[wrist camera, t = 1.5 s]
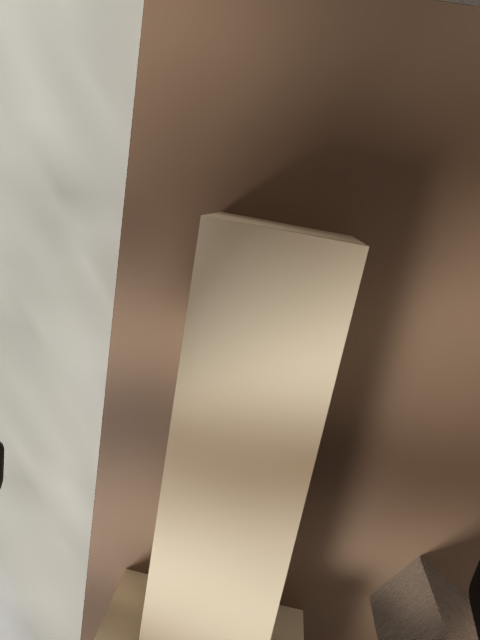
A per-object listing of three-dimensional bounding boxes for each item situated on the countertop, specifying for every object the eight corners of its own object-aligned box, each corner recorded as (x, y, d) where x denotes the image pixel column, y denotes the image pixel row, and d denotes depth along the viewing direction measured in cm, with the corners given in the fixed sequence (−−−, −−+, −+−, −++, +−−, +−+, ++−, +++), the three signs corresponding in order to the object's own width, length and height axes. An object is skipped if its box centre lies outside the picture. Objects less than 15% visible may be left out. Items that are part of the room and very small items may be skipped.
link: (268, 738, 15) (264, 838, 13) (108, 698, 16) (75, 788, 13) (402, 244, 11) (434, 258, 8) (172, 202, 11) (139, 204, 9)
